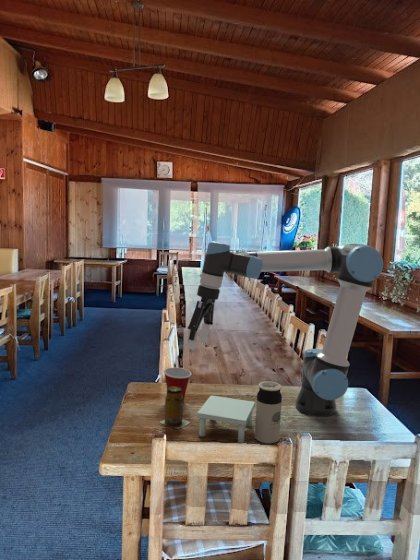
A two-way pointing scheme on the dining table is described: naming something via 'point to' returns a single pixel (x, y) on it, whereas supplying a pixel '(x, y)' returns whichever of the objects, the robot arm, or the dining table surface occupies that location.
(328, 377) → the robot arm
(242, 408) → the stool
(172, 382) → the plastic cup
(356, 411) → the dining table surface
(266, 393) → the travel mug
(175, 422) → the condiment
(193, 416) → the dining table surface
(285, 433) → the dining table surface
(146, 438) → the dining table surface
